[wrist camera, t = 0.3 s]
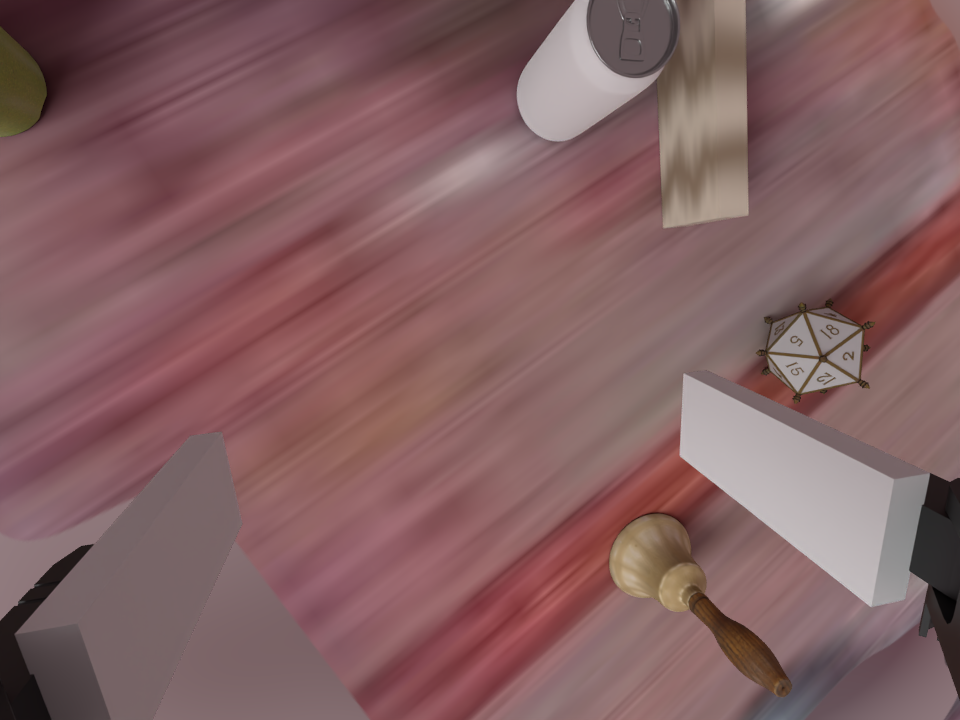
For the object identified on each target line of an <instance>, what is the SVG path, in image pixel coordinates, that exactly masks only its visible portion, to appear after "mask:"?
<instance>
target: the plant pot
mask: <svg viewBox="0 0 960 720" xmlns="http://www.w3.org/2000/svg"><path fill="white" fill-rule="evenodd" d="M46 96H47V89H46V83H45V80H44V77H43V74H42V72H41V70H40V68H39V66H38V64H37V63H36V62H35V60H34V59H33V58H32V57H31V55H30V54H29V53H28V52H27V51H26V50H25V49H24V48H23V47H22V46H20V45H19V44H18V43H17V42H16V41H15V40H14V39H13V38H12V37H11V36H10V35H9V34H8V33H7V32H6V31H5V30H4V29H2V28H1V27H0V137H6V136H12V135H16V134H19V133H21V132H23V131H25V130H27V129H29V128H30V127H31V126H33V125H34V124H35V123H36V122H37V121H38V119H39V118H40V114H41V110H42V107H43V104H44V101H45V98H46Z"/></svg>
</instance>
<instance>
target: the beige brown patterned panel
mask: <svg viewBox="0 0 960 720" xmlns="http://www.w3.org/2000/svg"><path fill="white" fill-rule="evenodd" d="M676 2H677V5H678V9H679V14H680V35H679V40H678V44H677V46H676V49H675V51H674V53H673V55H672V57H671V58H670V60H669V61H668V62H667V64H666V65H665V66H664V68H663V70H662V72H661V73H660V75H659V76H658V77H657V95H658V118H659V142H660V166H661V190H662V213H663V228H672V227H682V226H691V225H697V224H702V223H708V222H714V221H719V220H725V219H731V218H736V217H742V216H748V146H747V73H746V0H676Z"/></svg>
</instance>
